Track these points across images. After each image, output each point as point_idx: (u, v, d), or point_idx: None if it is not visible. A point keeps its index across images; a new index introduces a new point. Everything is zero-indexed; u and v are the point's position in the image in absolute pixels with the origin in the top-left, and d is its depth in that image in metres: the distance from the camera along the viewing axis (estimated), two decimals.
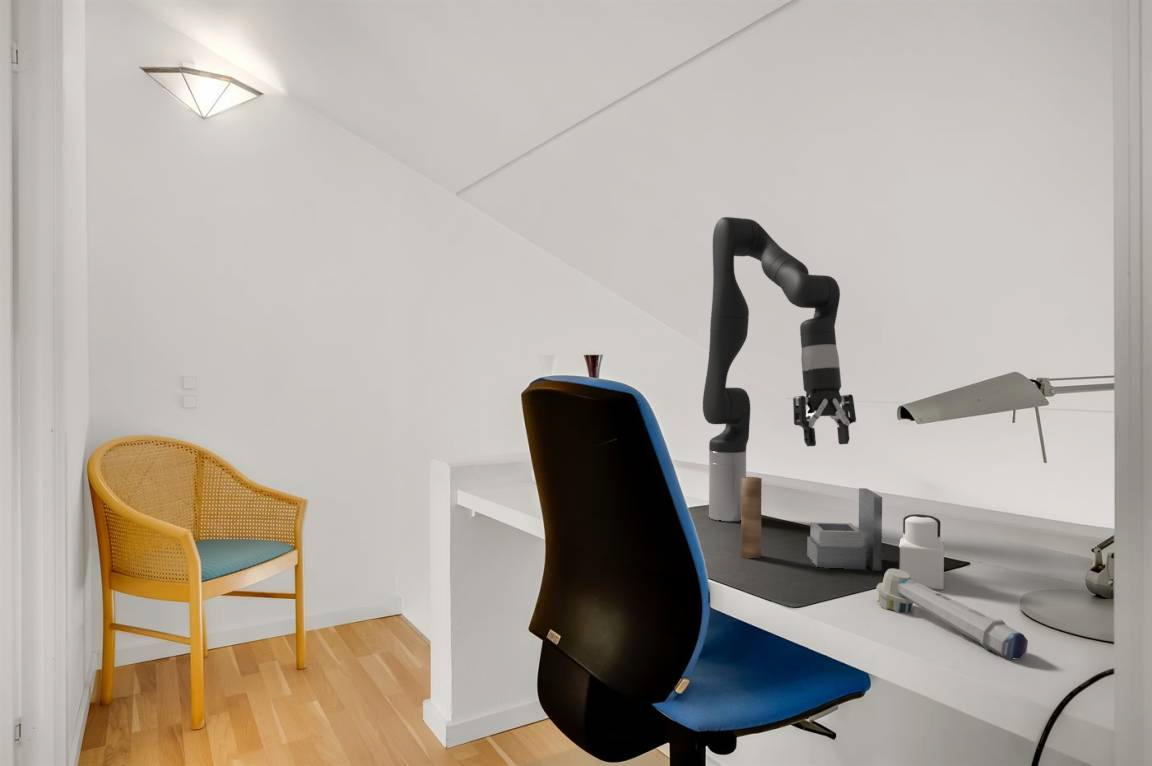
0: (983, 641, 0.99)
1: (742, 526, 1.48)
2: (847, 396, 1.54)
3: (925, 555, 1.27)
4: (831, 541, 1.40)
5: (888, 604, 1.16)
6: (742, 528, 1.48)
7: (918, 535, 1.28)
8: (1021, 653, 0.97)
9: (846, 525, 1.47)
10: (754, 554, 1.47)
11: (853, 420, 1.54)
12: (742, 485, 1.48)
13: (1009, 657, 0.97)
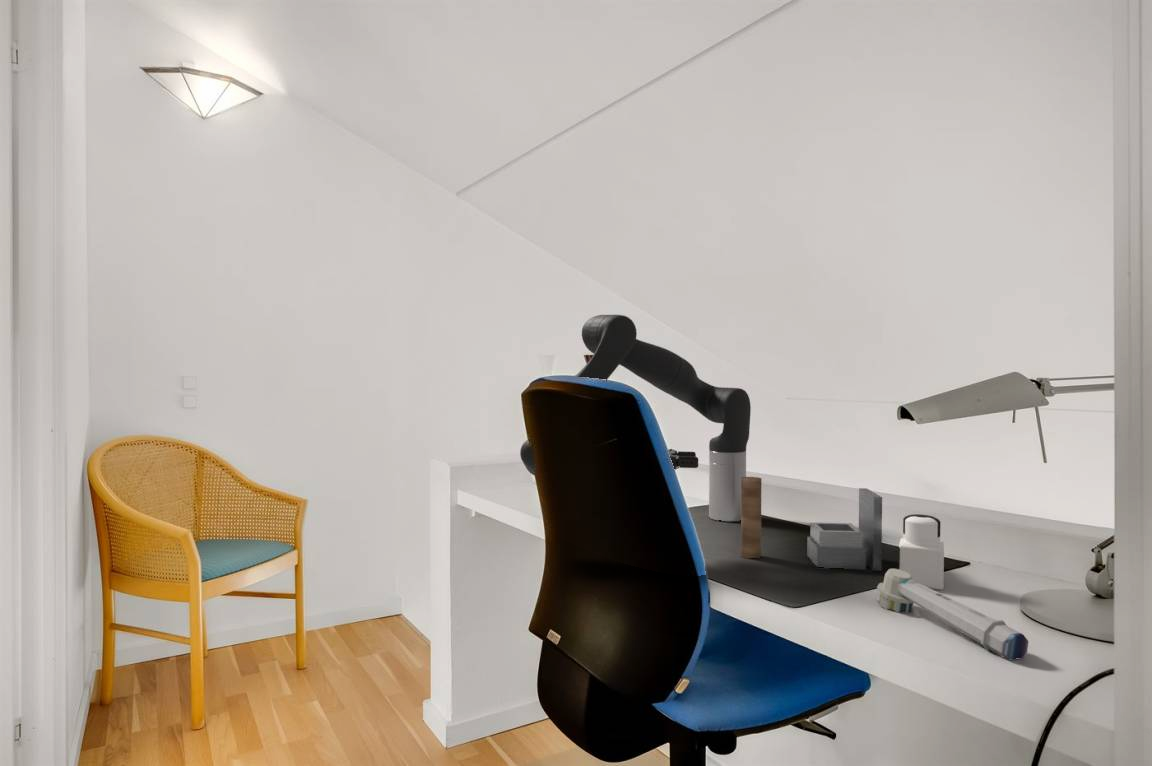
0: (984, 641, 0.99)
1: (742, 526, 1.48)
2: None
3: (925, 555, 1.27)
4: (831, 541, 1.40)
5: (888, 604, 1.16)
6: (742, 528, 1.48)
7: (918, 535, 1.28)
8: (1022, 653, 0.97)
9: (846, 525, 1.47)
10: (754, 554, 1.47)
11: None
12: (742, 485, 1.48)
13: (1009, 657, 0.97)
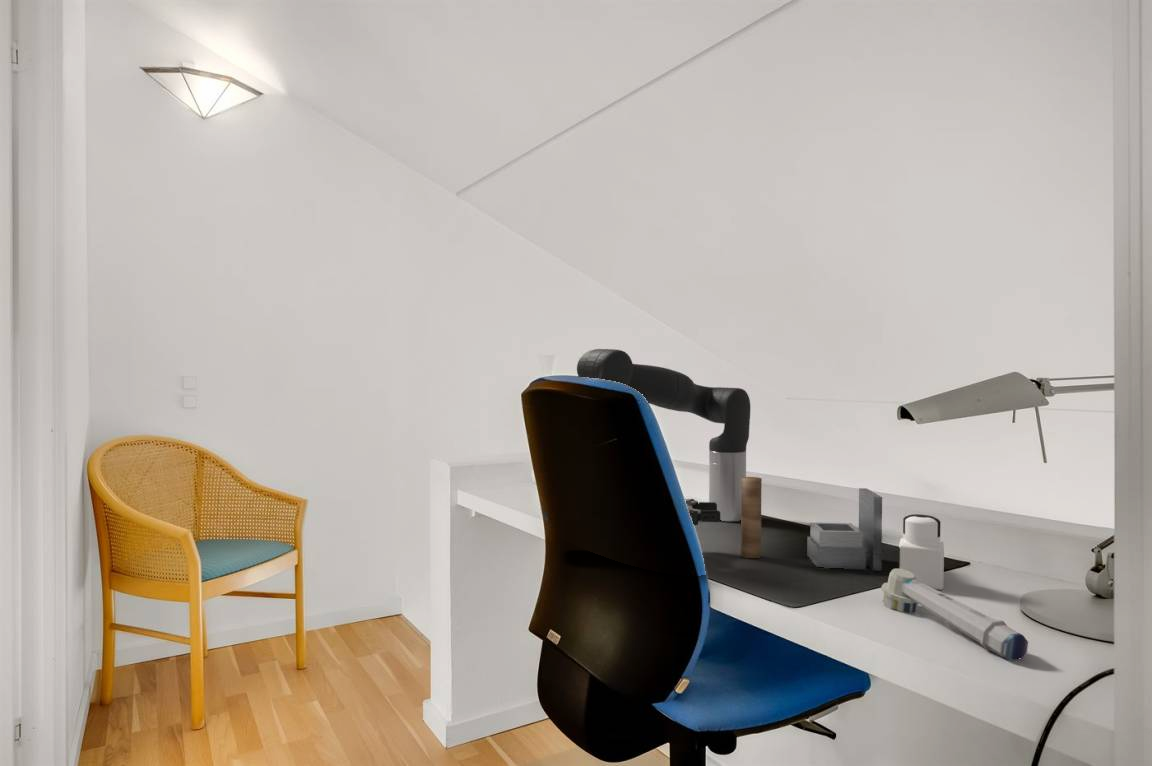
0: (983, 642, 0.99)
1: (742, 526, 1.48)
2: None
3: (925, 555, 1.27)
4: (831, 541, 1.40)
5: (892, 604, 1.16)
6: (742, 528, 1.48)
7: (918, 535, 1.28)
8: (1021, 654, 0.97)
9: (846, 525, 1.47)
10: (754, 554, 1.47)
11: None
12: (742, 485, 1.48)
13: (1008, 658, 0.96)
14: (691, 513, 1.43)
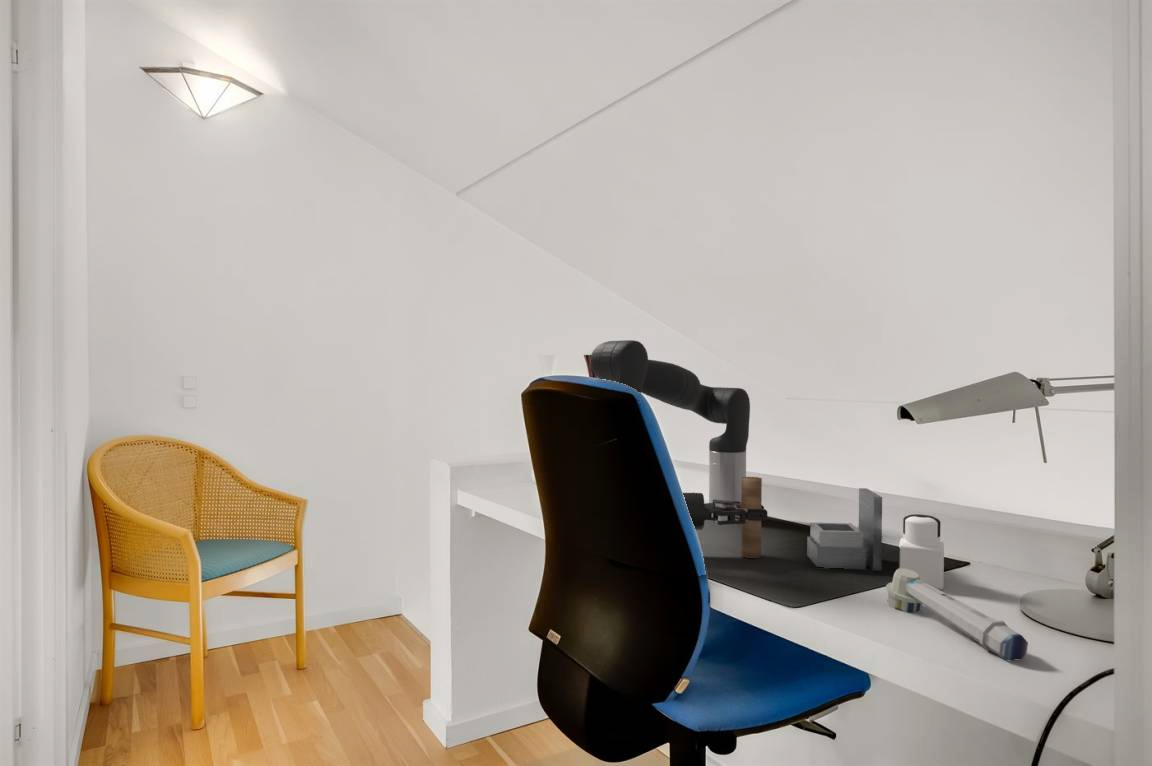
0: (983, 642, 0.99)
1: (742, 526, 1.48)
2: None
3: (925, 555, 1.27)
4: (831, 541, 1.40)
5: (896, 604, 1.17)
6: (742, 528, 1.48)
7: (918, 535, 1.28)
8: (1021, 654, 0.97)
9: (846, 525, 1.47)
10: (754, 554, 1.47)
11: None
12: (742, 484, 1.48)
13: (1007, 658, 0.96)
14: (740, 512, 1.44)
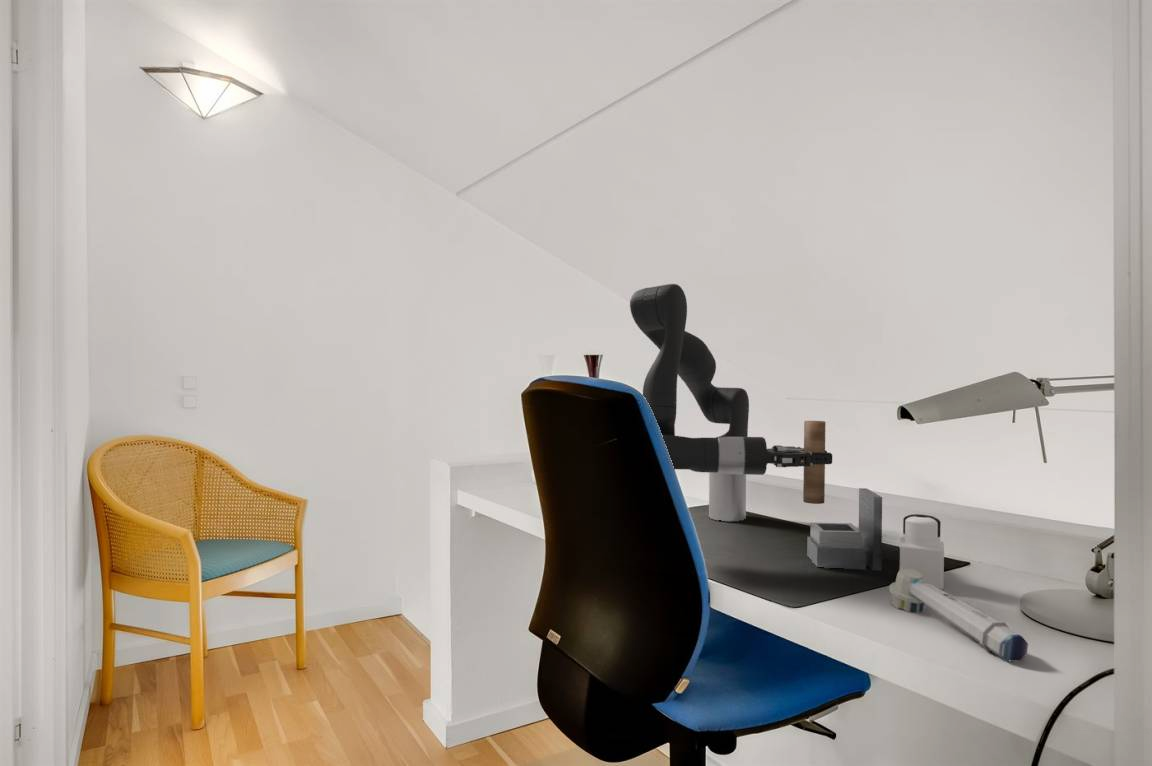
0: (983, 642, 0.99)
1: (805, 470, 1.44)
2: None
3: (925, 555, 1.27)
4: (831, 541, 1.40)
5: (899, 604, 1.17)
6: (805, 472, 1.44)
7: (918, 535, 1.28)
8: (1021, 655, 0.97)
9: (846, 525, 1.47)
10: (818, 499, 1.43)
11: None
12: (805, 428, 1.44)
13: (1007, 659, 0.96)
14: (805, 454, 1.40)
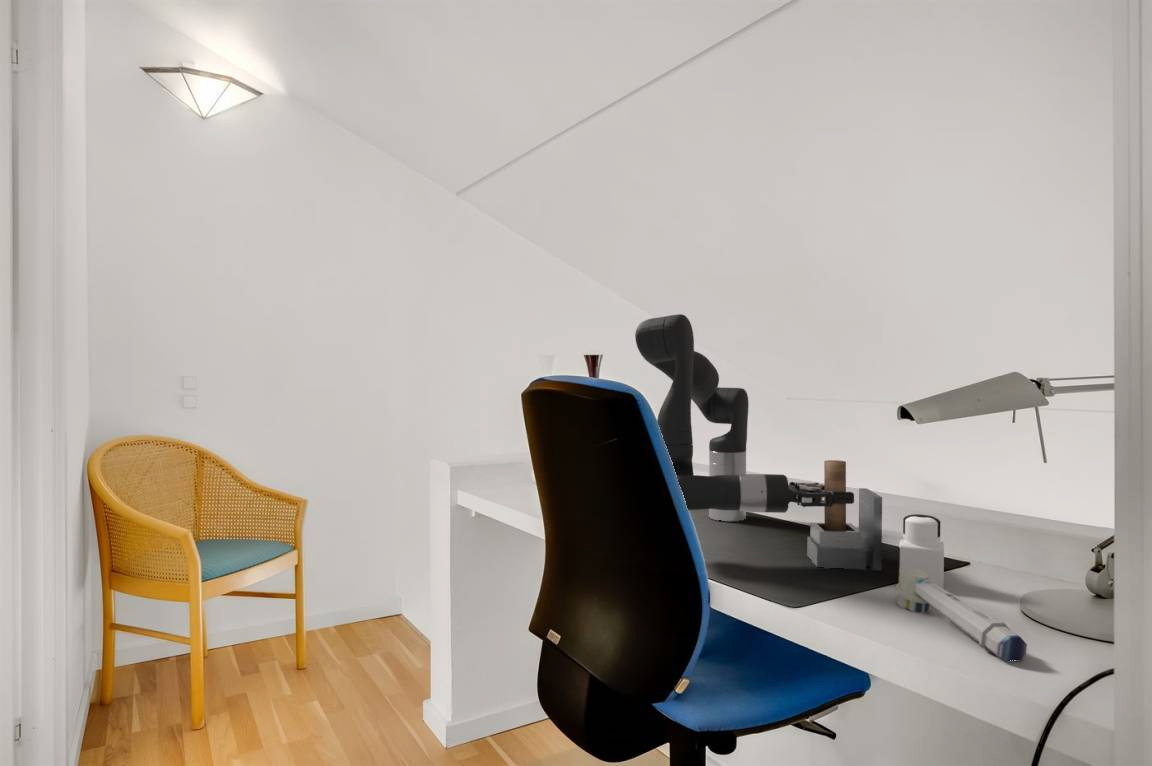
0: (982, 642, 0.99)
1: (826, 511, 1.43)
2: None
3: (925, 555, 1.27)
4: (831, 541, 1.40)
5: (904, 603, 1.17)
6: (826, 513, 1.43)
7: (918, 535, 1.28)
8: (1019, 656, 0.96)
9: (846, 525, 1.47)
10: None
11: None
12: (826, 468, 1.43)
13: (1005, 659, 0.96)
14: (826, 494, 1.38)
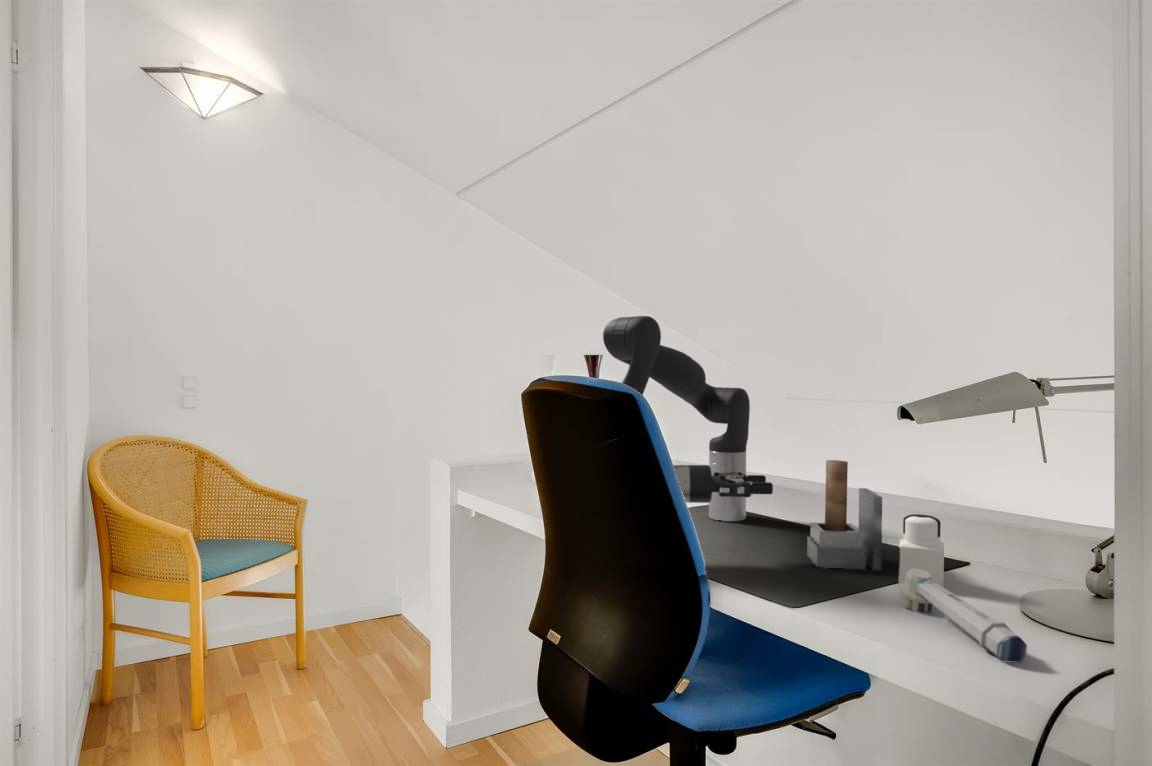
0: (982, 642, 0.99)
1: (827, 511, 1.43)
2: None
3: (925, 555, 1.27)
4: (831, 541, 1.40)
5: (907, 603, 1.17)
6: (827, 513, 1.43)
7: (918, 535, 1.28)
8: (1019, 656, 0.96)
9: (846, 525, 1.47)
10: None
11: None
12: (828, 468, 1.43)
13: (1004, 659, 0.96)
14: (743, 485, 1.39)
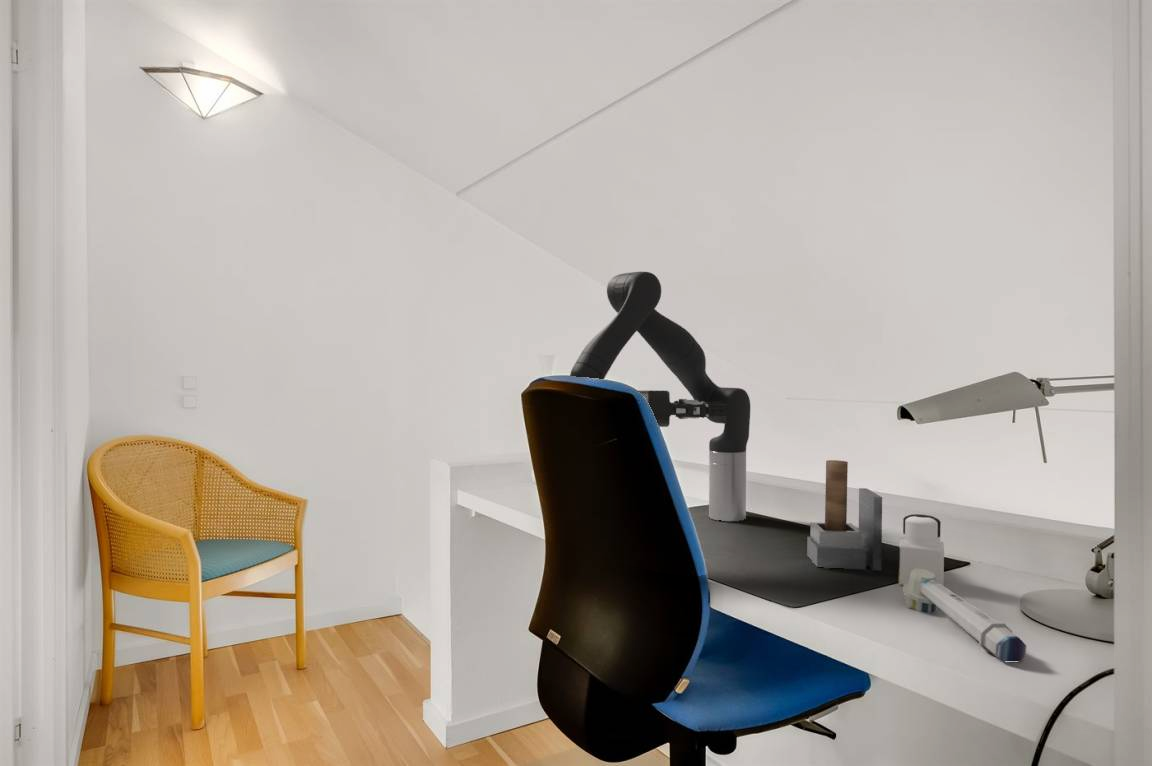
0: (981, 643, 0.99)
1: (827, 511, 1.43)
2: None
3: (925, 555, 1.27)
4: (831, 541, 1.40)
5: (911, 603, 1.17)
6: (827, 513, 1.43)
7: (918, 535, 1.28)
8: (1019, 657, 0.96)
9: (846, 525, 1.47)
10: None
11: None
12: (827, 468, 1.43)
13: (1003, 660, 0.96)
14: (699, 405, 1.43)
